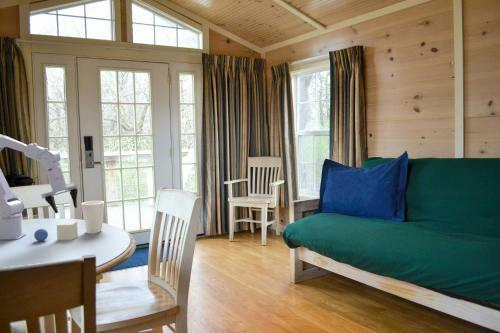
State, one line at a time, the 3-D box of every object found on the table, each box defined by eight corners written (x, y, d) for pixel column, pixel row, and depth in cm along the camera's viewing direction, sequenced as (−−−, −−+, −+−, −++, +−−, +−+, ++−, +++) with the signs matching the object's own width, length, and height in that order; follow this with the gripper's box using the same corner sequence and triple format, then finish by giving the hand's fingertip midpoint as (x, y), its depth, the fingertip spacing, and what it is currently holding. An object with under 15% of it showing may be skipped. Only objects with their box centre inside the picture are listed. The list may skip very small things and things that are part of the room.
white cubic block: (57, 240, 170) (56, 225, 170) (63, 236, 176) (62, 221, 176) (72, 240, 170) (71, 224, 170) (77, 236, 176) (77, 221, 176)
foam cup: (97, 234, 179) (96, 204, 178) (78, 233, 181) (76, 204, 179) (109, 229, 188) (108, 201, 187) (90, 228, 190) (89, 200, 189)
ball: (32, 242, 167) (31, 230, 166) (38, 239, 172) (37, 227, 171) (44, 242, 167) (44, 230, 166) (50, 239, 172) (49, 227, 171)
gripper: (35, 184, 166) (45, 216, 167) (73, 174, 169) (82, 206, 170) (40, 183, 173) (49, 214, 174) (76, 173, 176) (85, 204, 177)
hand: (66, 210), depth 172 cm, fingers open, 7 cm apart
